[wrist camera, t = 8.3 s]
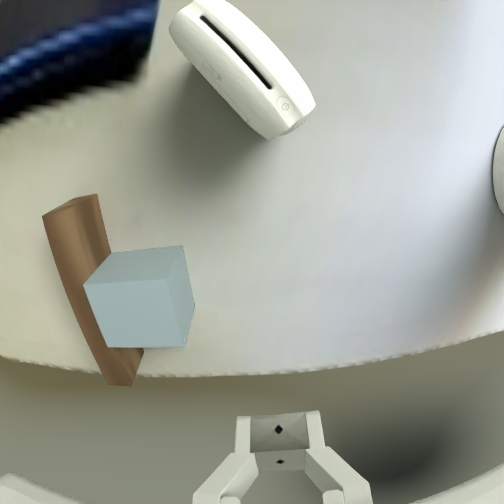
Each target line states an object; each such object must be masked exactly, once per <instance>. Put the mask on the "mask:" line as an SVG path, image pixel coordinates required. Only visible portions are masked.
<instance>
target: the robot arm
mask: <svg viewBox="0 0 504 504" xmlns="http://www.w3.org/2000/svg"><path fill="white" fill-rule="evenodd" d="M493 184H494V191H495V196H496V200H497V203H498V205H499V208H500V210H501V212H502V213H503V215H504V127H503V129H502V131H501V133H500V136H499V138H498V141H497V145H496V149H495V154H494V161H493ZM293 470H304V472H305V473H306V474H307V475H308V476H309V478H310V479H311V480H312V481H313V482H314V484H315V485H316V486H317V487H318V488H319V489H320V490H321V492H322V493H323V495H322V499H321V502H320V504H373V502H372V497H371V492H370V487H369V483H368V482H367V481H366V480H365V479H364V478H363V477H361V476H360V475H359V474H358V473H357V472H356V471H355V470H354V469H353V468H351V467H350V466H349V465H348V464H347V463H346V462H345V461H344V460H343V459H342V458H341V457H340V456H339V455H337V454H336V453H335V452H334V451H333V450H332V449H331V448H330V447H329V446H328V447H325V443H324V437H323V430H322V425H321V418H320V413H319V411H311V412H299V413H290V414H279V415H267V416H238V417H237V420H236V431H235V446H234V453H230V454H229V455H228V456H227V457H226V458H225V460H224V461H223V462H222V463H221V464H220V465H219V467H218V468H217V469H216V470H215V471H214V472H213V473H212V474H211V475H210V476H209V478H208V479H207V480H206V481H205V482H204V483H203V484H202V485H201V486H200V487H199V488H198V489H197V491H196V492H195V493H194V494H193V501H192V504H242V503H241V501H240V500H241V498H242V497H243V496H244V494H245V493H246V492H247V490H248V489H249V488H250V486H251V485H252V483H253V482H254V480H255V479H256V477H257V476H258V474H259V473H263V472H277V471H293ZM0 504H91V503H88V502H85V501H82V500H79V499H76V498H73V497H71V496H68V495H65V494H62V493H60V492H57V491H55V490H52V489H50V488H47V487H45V486H43V485H40V484H38V483H36V482H34V481H31V480H29V479H27V478H25V477H23V476H21V475H19V474H17V473H14V472H7V473H5V474H2V475H0ZM409 504H504V463H503V464H501V465H499V466H497V467H495V468H493V469H492V470H490V471H488V472H486V473H484V474H482V475H480V476H478V477H476V478H473V479H471V480H469V481H467V482H465V483H462V484H460V485H458V486H456V487H453V488H451V489H448V490H446V491H443V492H441V493H438V494H436V495H433V496H430V497H428V498H425V499H422V500H418V501H415V502H413V503H409Z"/></svg>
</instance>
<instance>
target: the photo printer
mask: <svg viewBox="0 0 504 504" xmlns="http://www.w3.org/2000/svg"><path fill="white" fill-rule="evenodd" d="M169 33H170V35H171V37H172V39H173V40H174V42H175V44H176V45H177V47H178V48H179V49H180V50H181V51H182V53H183V54H184V56H185V57H187V59H188V60H189V61H190V62H191V63H192V64H193V65H194V66H195V67H196V69H197V70H198V71H199V72H200V73H201V74H202V75H203V76H204V77H205V78H206V80H207V81H208V82H209V83H210V84H211V85H212V86H213V87H214V88H215V89H216V91H217V92H218V93H219V94H220V95H221V96H222V97H223V98H224V99H225V100H226V101H227V102H228V103H229V105H230V106H231V107H232V108H233V109H234V110H235V111H236V112H237V113H238V114H239V115H240V116H241V117H242V119H243V120H244V121H245V122H246V123H247V124H248V125H249V126H250V127H251V128H252V129H254V130H255V131H256V132H257V133H259V134H260V135H262V136H263V137H264V138H266V139H267V140H271V139H274V138H275V137H277V136H279V135H285V134H288V133H290V132H292V131H294V130H295V129H296V128H298V127H299V126H300V125H301V124H302V123H303V122H304V121H305V119H306V118H307V115H308V114H309V113H310V112H311V111H312V110H313V109H314V107H315V105H316V104H315V102H314V99H313V97H312V95H311V93H310V91H309V89H308V87H307V86H306V84H305V83H304V81H303V80H302V78H301V77H300V75H299V74H298V73H297V71H296V70H295V69H294V67H293V66H292V65H291V63H290V62H289V61H288V60H287V59H286V57H285V56H284V55H283V54H282V53H281V51H280V50H279V49H278V48H277V47H276V46H275V45H274V44H273V43H272V41H271V40H270V39H269V38H268V37H267V36H266V35H265V34H264V33H263V32H262V31H261V30H260V29H259V28H258V27H257V26H256V25H255V24H254V23H252V22H251V21H250V20H249V19H248V18H247V17H246V16H245V15H243V14H242V13H241V12H240V11H239V10H237V9H236V8H235V7H233V6H232V5H231V4H229V3H227V2H226V1H224V0H194V1H193V2H192V3H191V4H189V5H188V6H186V7H185V8H183V9H181V10H179V11H178V12H177V13H176V15H175V16H174V18H173V19H172V21H171V23H170V26H169Z"/></svg>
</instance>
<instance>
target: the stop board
mask: <svg viewBox="0 0 504 504" xmlns="http://www.w3.org/2000/svg"><path fill="white" fill-rule="evenodd" d="M42 219H43V222H44V226H45V230H46V233H47V237H48V240H49V244H50V247H51V250H52V253H53V256H54V260H55V263H56V266H57V269H58V271H59V274H60V277H61V280H62V283H63V286H64V288H65V291H66V294H67V296H68V299H69V301H70V304H71V306H72V309H73V311H74V314H75V316H76V318H77V321H78V323H79V325H80V328H81V330H82V332H83V334H84V337H85V339H86V341H87V343H88V345H89V347H90V349H91V351H92V354H93V356H94V358H95V360H96V362H97V364H98V366H99V368H100V369H101V371H102V373H103V375H104V377H105V379H106V381H107V383H108V384H109V385H122V386H123V385H124V386H131V385H132V382H133V380H134V377H135V374H136V372H137V369H138V366H139V364H140V361H141V358H142V356H143V353H144V351H143V348H128V347H107V344H106V342H105V340H104V337H103V335H102V333H101V330H100V328H99V326H98V323H97V321H96V318H95V316H94V313H93V311H92V308H91V305H90V303H89V300H88V297H87V295H86V292H85V289H84V286H83V284H84V283H85V282H86V281H87V280H88V278H89V277H90V276H91V275H92V274H93V273H94V272H95V271H96V269H97V268H98V267H99V266H100V265H101V264H102V263H103V262H104V261H105V259H106V258H107V257H108V256H109V255H110V254H111V251H110V247H109V243H108V239H107V235H106V231H105V227H104V223H103V219H102V215H101V210H100V206H99V201H98V197H97V194H93V195H88V196H83V197H78V198H74V199H72V200H70V201H68V202H66V203H64V204H63V205H61V206H59V207H57V208H55V209H54V210H52V211H50V212H48V213H47V214H45V215H43V216H42Z"/></svg>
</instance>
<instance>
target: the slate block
mask: <svg viewBox="0 0 504 504" xmlns="http://www.w3.org/2000/svg"><path fill="white" fill-rule="evenodd" d="M83 286H84V289H85V292H86V295H87V297H88V300H89V303H90V305H91V308H92V311H93V313H94V316H95V318H96V321H97V323H98V326H99V328H100V330H101V333H102V335H103V337H104V340H105V342H106V344H107V347H128V348H149V347H185V343H186V339H187V335H188V331H189V327H190V323H191V319H192V315H193V312H194V308H195V302H194V298H193V293H192V289H191V284H190V279H189V275H188V270H187V265H186V260H185V255H184V250H183V245H181V246H172V247H162V248H153V249H143V250H134V251H125V252H116V253H111V254H110V255H109V256H108V257H107V258H106V259H105V261H104V262H103V263H102V264H101V265H100V266H99V267H98V268H97V269H96V271H95V272H94V273H93V274H92V275H91V276H90V277H89V278H88V280H87V281H86V282H85V283H84V284H83Z"/></svg>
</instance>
